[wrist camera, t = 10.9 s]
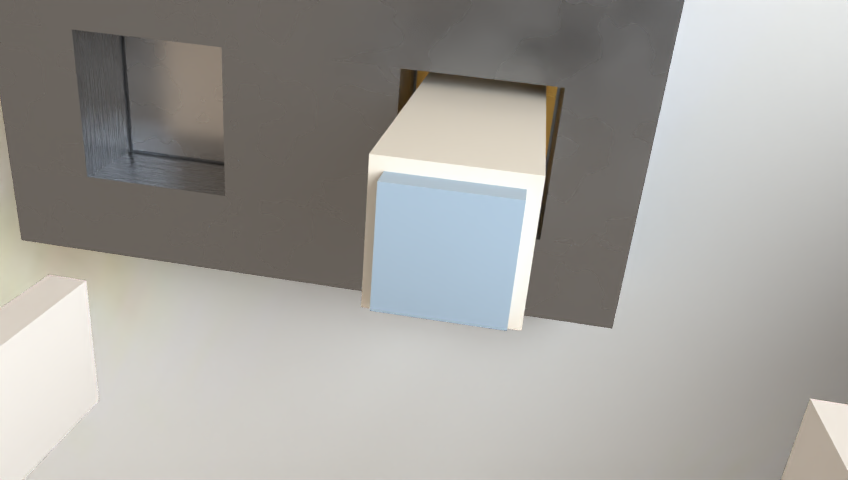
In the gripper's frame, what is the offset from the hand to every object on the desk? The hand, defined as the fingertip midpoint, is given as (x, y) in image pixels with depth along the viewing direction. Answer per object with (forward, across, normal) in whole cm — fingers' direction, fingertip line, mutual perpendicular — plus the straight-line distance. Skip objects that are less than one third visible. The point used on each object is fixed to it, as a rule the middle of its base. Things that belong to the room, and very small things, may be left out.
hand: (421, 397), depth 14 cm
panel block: (+18, +7, 0) cm, 20 cm away
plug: (+18, +1, 0) cm, 18 cm away
